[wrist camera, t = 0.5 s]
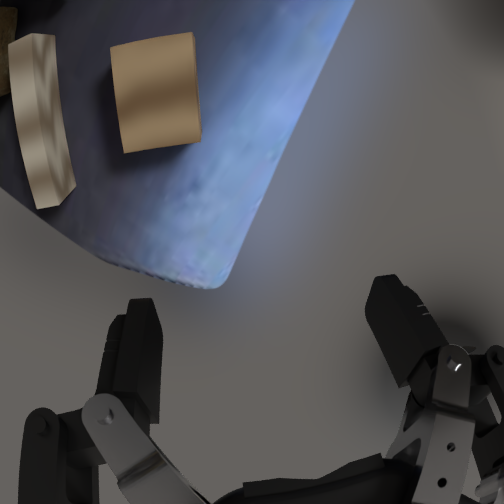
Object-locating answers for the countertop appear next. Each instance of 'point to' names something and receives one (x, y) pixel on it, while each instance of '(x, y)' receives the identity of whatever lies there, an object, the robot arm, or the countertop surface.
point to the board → (40, 118)
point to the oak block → (157, 92)
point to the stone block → (6, 45)
